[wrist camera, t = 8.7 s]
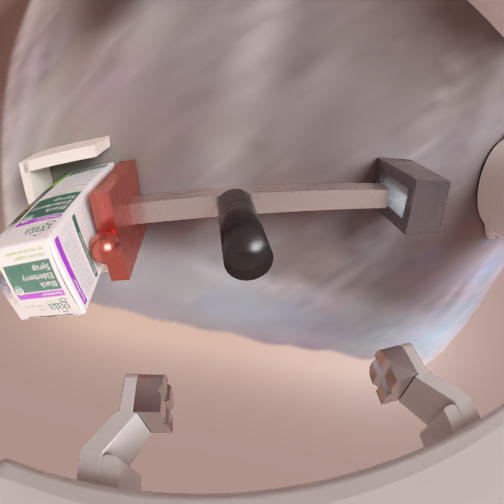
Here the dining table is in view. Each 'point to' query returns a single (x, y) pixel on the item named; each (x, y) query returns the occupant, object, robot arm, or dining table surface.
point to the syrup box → (53, 249)
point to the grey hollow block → (412, 195)
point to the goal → (39, 164)
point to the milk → (491, 12)
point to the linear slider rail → (210, 205)
